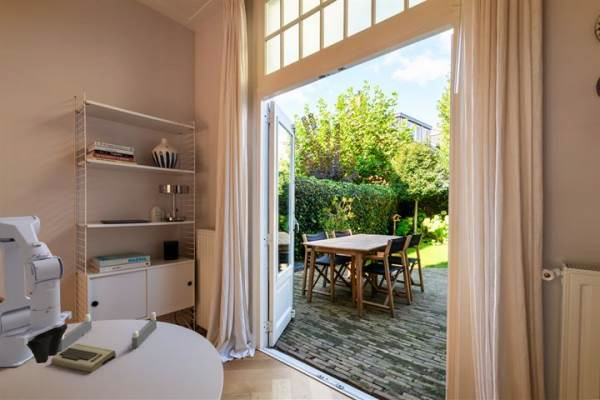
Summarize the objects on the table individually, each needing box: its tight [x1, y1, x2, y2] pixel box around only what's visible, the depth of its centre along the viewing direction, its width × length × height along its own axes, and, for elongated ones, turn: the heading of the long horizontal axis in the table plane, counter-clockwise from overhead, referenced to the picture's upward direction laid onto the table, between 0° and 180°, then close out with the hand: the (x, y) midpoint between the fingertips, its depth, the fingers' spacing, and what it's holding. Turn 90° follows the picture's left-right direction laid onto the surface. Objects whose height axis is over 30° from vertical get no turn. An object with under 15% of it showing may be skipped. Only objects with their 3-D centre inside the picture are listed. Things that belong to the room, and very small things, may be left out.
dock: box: [58, 311, 158, 352], centre depth 98 cm, size 25×14×6 cm, turn 93°
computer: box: [50, 343, 117, 373], centre depth 85 cm, size 16×8×3 cm, turn 74°
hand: (47, 358), depth 72 cm, fingers open, 2 cm apart
